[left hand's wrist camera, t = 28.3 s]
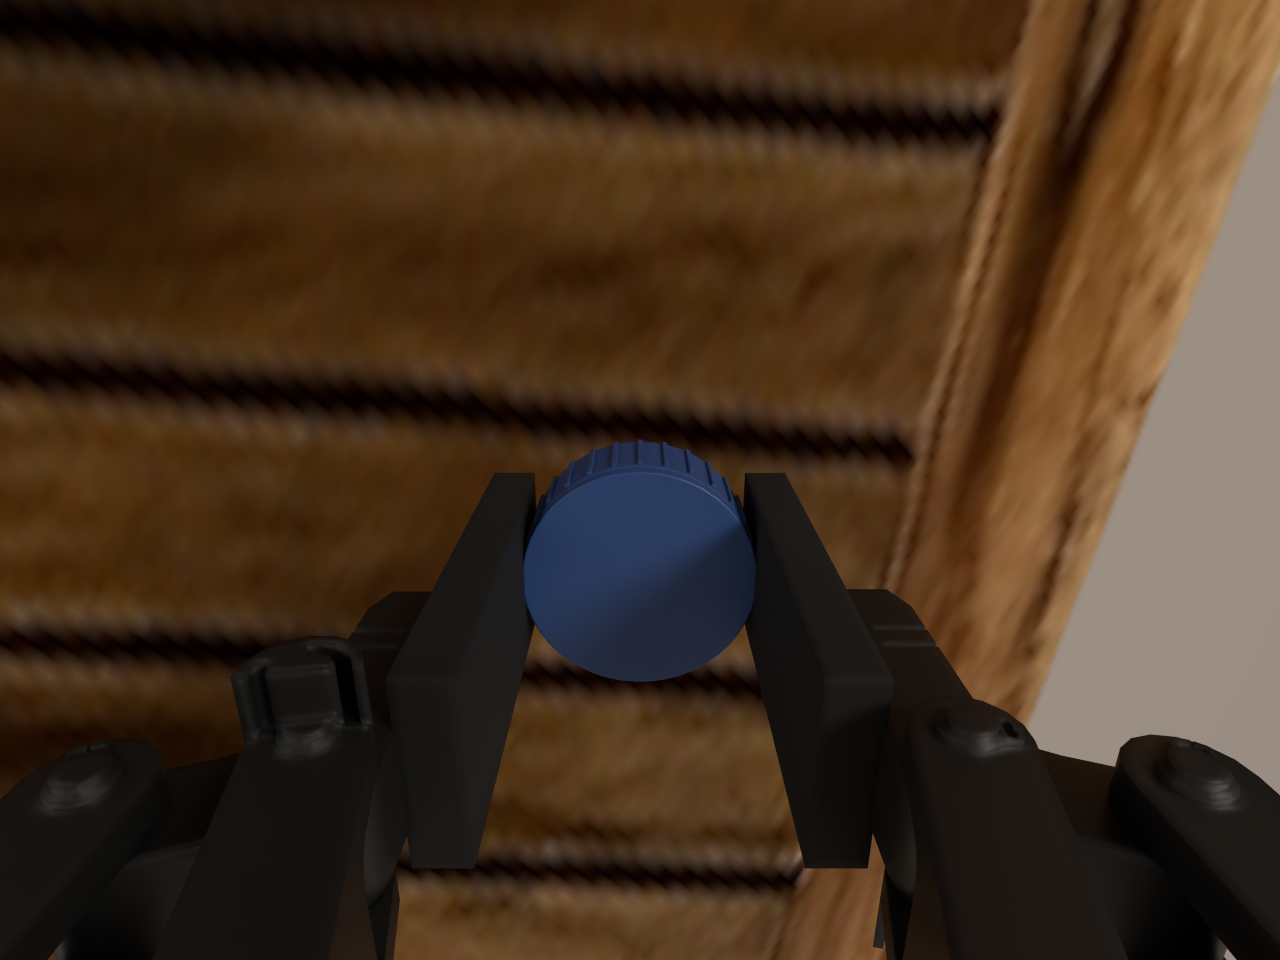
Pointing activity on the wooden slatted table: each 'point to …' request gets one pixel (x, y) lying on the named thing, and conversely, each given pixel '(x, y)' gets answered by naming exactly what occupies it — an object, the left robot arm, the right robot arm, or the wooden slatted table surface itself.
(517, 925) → the wooden slatted table surface
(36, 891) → the left robot arm
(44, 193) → the wooden slatted table surface
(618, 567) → the cap
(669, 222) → the wooden slatted table surface
